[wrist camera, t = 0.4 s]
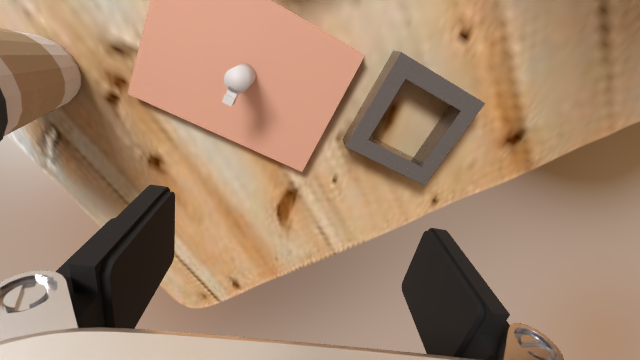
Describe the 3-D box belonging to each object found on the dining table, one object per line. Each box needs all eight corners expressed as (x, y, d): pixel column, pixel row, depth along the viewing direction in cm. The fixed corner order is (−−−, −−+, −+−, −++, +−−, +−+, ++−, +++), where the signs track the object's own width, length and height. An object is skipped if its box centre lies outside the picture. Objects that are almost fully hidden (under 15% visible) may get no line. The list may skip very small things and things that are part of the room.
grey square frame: (393, 50, 35) (401, 52, 32) (472, 98, 38) (485, 103, 35) (342, 139, 39) (345, 146, 37) (416, 175, 42) (424, 185, 39)
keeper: (172, -58, 29) (136, -83, 23) (362, 54, 35) (376, 59, 28) (134, 91, 35) (97, 104, 29) (302, 167, 41) (301, 192, 34)
